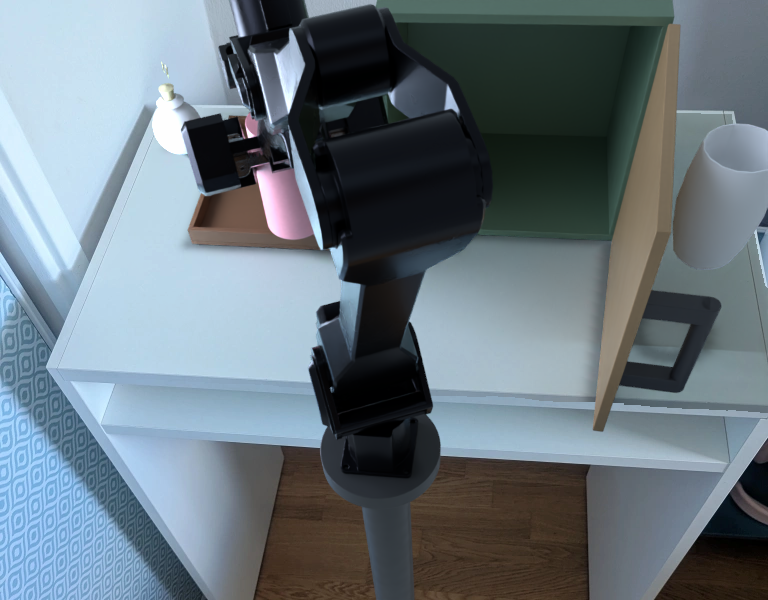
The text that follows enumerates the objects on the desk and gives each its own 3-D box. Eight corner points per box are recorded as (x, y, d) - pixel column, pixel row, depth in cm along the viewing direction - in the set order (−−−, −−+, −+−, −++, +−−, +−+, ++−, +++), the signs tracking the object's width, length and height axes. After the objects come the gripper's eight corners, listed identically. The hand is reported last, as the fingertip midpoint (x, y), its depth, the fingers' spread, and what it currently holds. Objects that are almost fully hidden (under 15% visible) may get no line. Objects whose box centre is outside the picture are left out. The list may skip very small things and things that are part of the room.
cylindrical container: (334, 225, 84) (321, 124, 73) (282, 247, 82) (261, 147, 72) (309, 193, 87) (292, 91, 76) (258, 214, 85) (234, 113, 75)
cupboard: (615, 241, 84) (674, 16, 64) (386, 231, 87) (373, 12, 67) (611, 139, 93) (663, -88, 72) (404, 133, 96) (397, -87, 75)
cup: (640, 360, 76) (706, 180, 58) (628, 307, 79) (687, 121, 61) (714, 357, 76) (803, 175, 57) (698, 304, 79) (778, 116, 61)
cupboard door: (674, 250, 83) (753, 28, 63) (666, 441, 71) (761, 241, 51) (610, 244, 84) (668, 23, 64) (592, 430, 72) (656, 231, 52)
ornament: (160, 167, 95) (133, 89, 86) (162, 131, 99) (136, 52, 90) (208, 161, 95) (186, 83, 86) (209, 125, 99) (187, 46, 90)
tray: (338, 251, 86) (336, 236, 84) (191, 244, 88) (187, 230, 86) (364, 133, 96) (362, 118, 94) (232, 129, 98) (228, 115, 96)
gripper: (374, -14, 62) (350, 51, 77) (151, 35, 60) (170, 92, 75) (406, 130, 65) (377, 166, 80) (195, 182, 64) (205, 209, 78)
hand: (283, 156), depth 79 cm, fingers closed on cylindrical container, 6 cm apart
